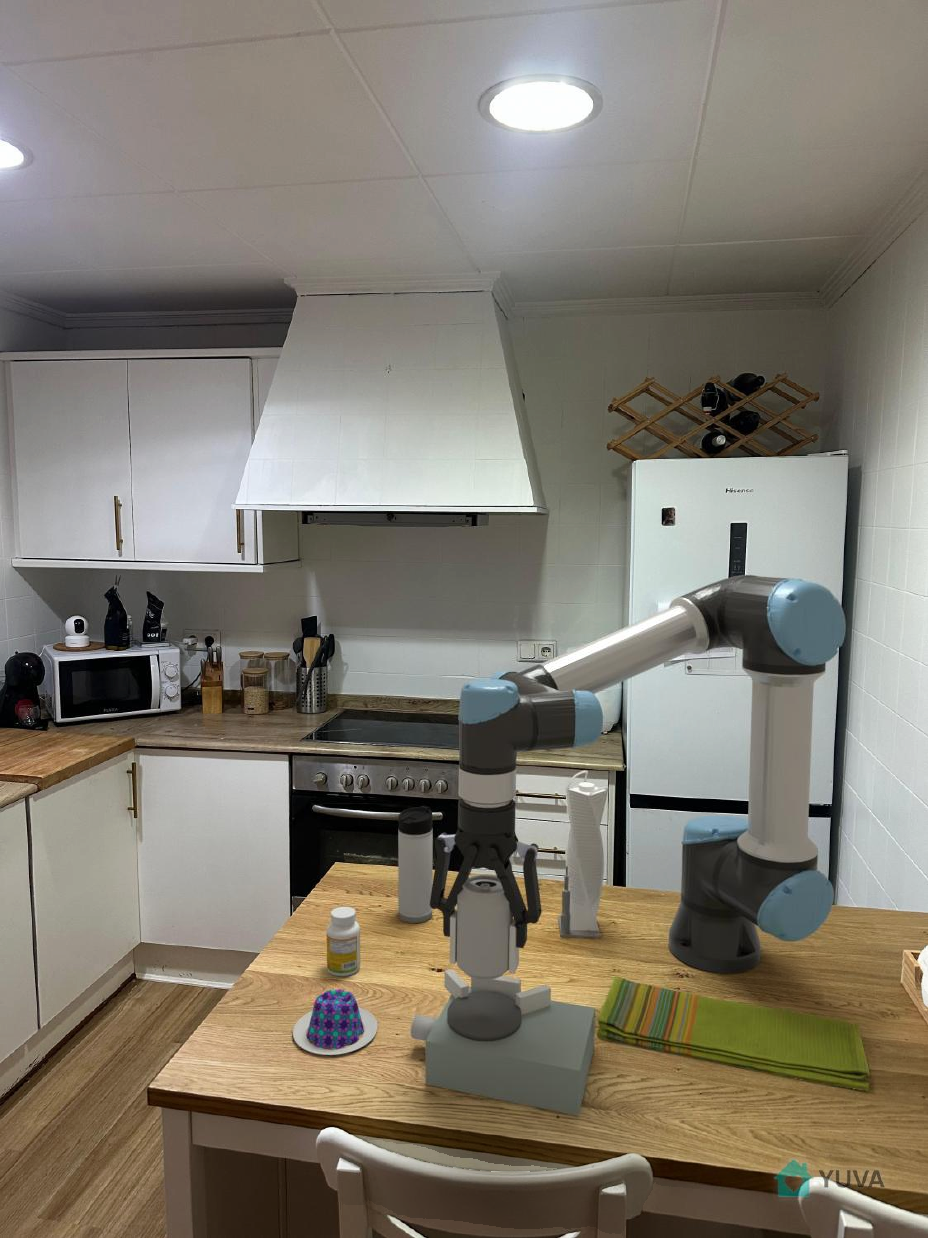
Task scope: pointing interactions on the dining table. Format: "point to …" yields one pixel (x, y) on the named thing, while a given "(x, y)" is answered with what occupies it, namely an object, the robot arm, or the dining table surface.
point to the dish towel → (735, 1034)
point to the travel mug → (415, 864)
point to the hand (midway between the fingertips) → (484, 963)
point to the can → (483, 928)
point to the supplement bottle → (343, 942)
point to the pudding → (335, 1024)
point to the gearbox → (509, 1043)
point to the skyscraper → (583, 861)
